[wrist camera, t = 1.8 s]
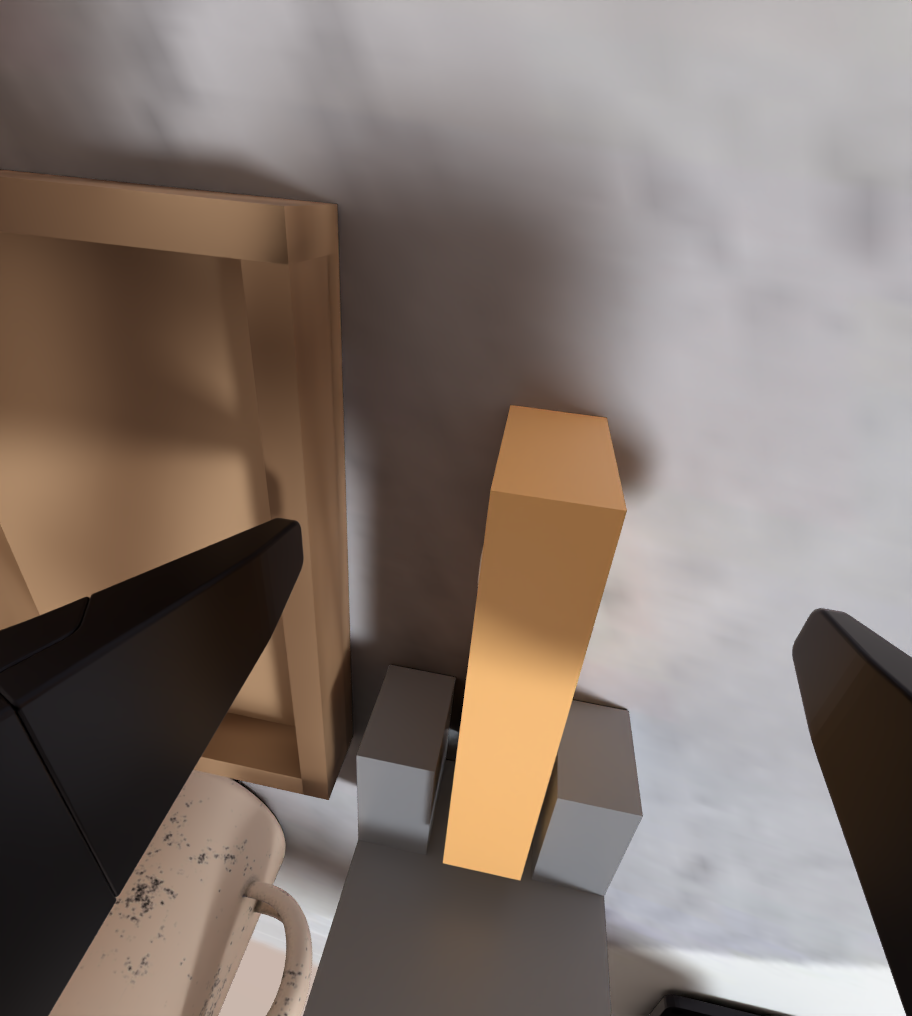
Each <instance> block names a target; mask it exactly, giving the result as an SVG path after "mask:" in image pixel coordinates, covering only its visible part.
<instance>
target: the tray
mask: <svg viewBox="0 0 912 1016" xmlns="http://www.w3.org/2000/svg"><path fill="white" fill-rule="evenodd" d="M275 518H285V519H290V520H296V521H298V522H299V523H300V526H301V531H302V542H303V554H304V561H303V566H302V569H301V572H300V574H299V576H298V579H297V581H296V583H295V585H294V588H293V590H292V592H291V594H290V597H289V599H288V601H287V603H286V606H285V608H284V610H283V613H282V615H281V617H280V619H279V622H278V624H277V626H276V628H275V630H274V632H273V634H272V637H271V638H270V640H269V642H268V644H267V646H266V647H265V649H264V651H263V653H262V654H261V656H260V658H259V659H258V661H257V663H256V664H255V666H254V668H253V670H252V671H251V673H250V675H249V676H248V678H247V680H246V681H245V683H244V685H243V686H242V688H241V690H240V692H239V693H238V695H237V697H236V698H235V700H234V702H233V703H232V705H231V707H230V709H229V710H228V712H227V714H226V715H225V717H224V719H223V720H222V722H221V724H220V725H219V727H218V729H217V731H216V732H215V734H214V736H213V737H212V739H211V741H210V742H209V744H208V746H207V747H206V749H205V751H204V753H203V754H202V756H201V758H200V759H199V761H198V763H197V764H196V766H195V768H194V770H196V771H201V772H205V773H210V774H214V775H219V776H223V777H228V778H232V779H237V780H241V781H246V782H250V783H255V784H259V785H264V786H268V787H273V788H277V789H282V790H286V791H291V792H295V793H299V794H304V795H308V796H313V797H317V798H322V799H326V800H329V798H330V795H331V793H332V790H333V787H334V785H335V782H336V780H337V777H338V774H339V772H340V769H341V767H342V764H343V761H344V759H345V756H346V754H347V751H348V748H349V746H350V743H351V741H352V738H353V719H352V685H351V651H350V617H349V583H348V549H347V515H346V481H345V447H344V413H343V379H342V345H341V311H340V277H339V243H338V209H337V204H331V203H321V202H311V201H301V200H292V199H282V198H272V197H263V196H253V195H243V194H233V193H224V192H214V191H204V190H195V189H185V188H175V187H165V186H156V185H146V184H136V183H127V182H117V181H107V180H97V179H88V178H78V177H68V176H59V175H49V174H39V173H30V172H20V171H10V170H0V630H2V629H5V628H8V627H10V626H13V625H16V624H19V623H21V622H24V621H27V620H29V619H32V618H34V617H37V616H39V615H42V614H44V613H47V612H49V611H52V610H54V609H57V608H59V607H62V606H64V605H67V604H69V603H72V602H74V601H76V600H79V599H81V598H83V597H89V598H90V596H91V595H92V594H93V593H96V592H98V591H101V590H103V589H106V588H108V587H110V586H113V585H115V584H118V583H120V582H122V581H125V580H127V579H130V578H132V577H134V576H137V575H139V574H142V573H144V572H147V571H149V570H151V569H154V568H156V567H159V566H161V565H163V564H166V563H168V562H171V561H173V560H176V559H178V558H180V557H183V556H185V555H188V554H190V553H192V552H195V551H197V550H200V549H202V548H205V547H207V546H209V545H212V544H214V543H217V542H219V541H221V540H224V539H226V538H229V537H231V536H234V535H236V534H238V533H241V532H243V531H246V530H248V529H250V528H253V527H255V526H258V525H260V524H262V523H265V522H267V521H270V520H272V519H275Z"/></svg>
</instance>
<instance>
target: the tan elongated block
mask: <svg viewBox="0 0 912 1016" xmlns="http://www.w3.org/2000/svg"><path fill="white" fill-rule="evenodd" d="M626 512H627V509H626V505H625V500H624V496H623V491H622V486H621V482H620V477H619V472H618V468H617V463H616V458H615V454H614V449H613V445H612V440H611V435H610V431H609V426H608V421H607V418H604V417H597V416H589V415H582V414H574V413H567V412H559V411H552V410H544V409H537V408H529V407H522V406H514V405H510V409H509V413H508V418H507V422H506V426H505V431H504V435H503V439H502V443H501V448H500V452H499V456H498V461H497V465H496V469H495V473H494V478H493V482H492V486H491V491H490V498H489V506H488V514H487V522H486V530H485V537H484V545H483V550H482V554H481V560H480V567H479V575H478V583H477V585H478V592H477V600H476V608H475V615H474V623H473V631H472V639H471V647H470V654H469V662H468V670H467V678H466V686H465V694H464V701H463V709H462V717H461V725H460V733H459V740H458V748H457V756H456V764H455V772H454V779H453V787H452V795H451V803H450V811H449V818H448V826H447V834H446V842H445V850H444V857H443V863H444V864H449V865H453V866H458V867H462V868H467V869H471V870H476V871H480V872H485V873H489V874H493V875H498V876H502V877H507V878H511V879H516V880H521V877H522V873H523V870H524V866H525V863H526V859H527V856H528V852H529V849H530V845H531V842H532V838H533V835H534V831H535V828H536V824H537V821H538V817H539V814H540V811H541V807H542V804H543V800H544V797H545V793H546V790H547V786H548V783H549V779H550V776H551V772H552V769H553V765H554V762H555V758H556V755H557V751H558V748H559V745H560V741H561V738H562V734H563V731H564V727H565V724H566V720H567V717H568V713H569V710H570V706H571V703H572V699H573V696H574V692H575V689H576V685H577V682H578V679H579V675H580V672H581V668H582V665H583V661H584V658H585V654H586V651H587V647H588V644H589V640H590V637H591V633H592V630H593V626H594V623H595V619H596V616H597V613H598V609H599V606H600V602H601V599H602V595H603V592H604V588H605V585H606V581H607V578H608V574H609V571H610V567H611V564H612V560H613V557H614V553H615V550H616V547H617V543H618V540H619V536H620V533H621V529H622V526H623V522H624V519H625V515H626Z"/></svg>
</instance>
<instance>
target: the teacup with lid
mask: <svg viewBox="0 0 912 1016" xmlns="http://www.w3.org/2000/svg"><path fill="white" fill-rule="evenodd" d="M285 846H286V844H285V838H284V834H283V831H282V829H281V826H280V824H279V823H278V821H277V819H276V818H275V816H274V815H273V814H272V812H271V811H270V810H269V809H268V808H267V806H266V805H265V804H264V803H263V802H262V801H261V800H260V799H258V798H257V797H256V796H255V795H254V794H252V793H251V792H250V791H249V790H247V789H246V788H244V787H243V786H242V785H240V784H239V783H237V782H235V781H234V780H232V779H230V778H228V777H223V776H219V775H214V774H210V773H205V772H201V771H196V770H193V771H192V773H191V775H190V776H189V778H188V780H187V781H186V783H185V785H184V786H183V788H182V790H181V792H180V793H179V795H178V797H177V798H176V800H175V802H174V803H173V805H172V807H171V808H170V810H169V812H168V814H167V815H166V817H165V819H164V820H163V822H162V824H161V825H160V827H159V829H158V831H157V832H156V834H155V836H154V837H153V839H152V841H151V842H150V844H149V846H148V847H147V849H146V851H145V853H144V854H143V856H142V858H141V859H140V861H139V863H138V864H137V866H136V868H135V869H134V871H133V873H132V875H131V876H130V878H129V880H128V881H127V883H126V885H125V886H124V888H123V890H122V891H121V893H120V895H119V896H118V897H116V902H115V904H114V906H113V907H112V909H111V911H110V913H109V914H108V916H107V918H106V919H105V921H104V923H103V924H102V926H101V928H100V929H99V931H98V933H97V935H96V936H95V938H94V940H93V941H92V943H91V945H90V946H89V948H88V950H87V952H86V953H85V955H84V957H83V958H82V960H81V962H80V963H79V965H78V967H77V968H76V970H75V972H74V974H73V975H72V977H71V979H70V980H69V982H68V984H67V985H66V987H65V989H64V990H63V992H62V994H61V996H60V997H59V999H58V1001H57V1002H56V1004H55V1006H54V1007H53V1009H52V1011H51V1013H50V1014H49V1016H218V1015H219V1012H220V1010H221V1007H222V1005H223V1003H224V1001H225V998H226V996H227V993H228V991H229V988H230V986H231V984H232V981H233V979H234V977H235V974H236V972H237V969H238V967H239V965H240V962H241V960H242V957H243V955H244V953H245V950H246V948H247V946H248V943H249V941H250V938H251V936H252V934H253V931H254V929H255V926H256V924H257V922H258V919H259V917H260V914H261V913H262V914H265V915H269V916H271V917H274V918H276V919H278V920H279V921H281V922H282V923H283V924H284V928H285V934H286V960H285V968H284V972H283V977H282V981H281V984H280V987H279V990H278V993H277V995H276V998H275V1000H274V1002H273V1004H272V1006H271V1008H270V1010H269V1012H268V1013H267V1015H266V1016H301V1013H302V1011H303V1008H304V1005H305V1002H306V998H307V994H308V990H309V985H310V978H311V970H312V942H311V935H310V930H309V926H308V923H307V920H306V917H305V915H304V913H303V911H302V909H301V908H300V906H299V905H298V903H297V902H296V900H295V899H294V898H293V897H292V896H291V895H290V894H288V893H287V892H286V891H284V890H282V889H281V888H278V887H276V886H273V883H274V881H275V879H276V876H277V874H278V871H279V869H280V867H281V864H282V862H283V859H284V855H285Z"/></svg>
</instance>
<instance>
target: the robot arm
mask: <svg viewBox="0 0 912 1016" xmlns="http://www.w3.org/2000/svg"><path fill="white" fill-rule="evenodd" d="M303 561H304V554H303V542H302V531H301V526H300V523H299V522H298V521H296V520H290V519H285V518H275V519H272V520H270V521H267V522H265V523H262V524H260V525H258V526H255V527H253V528H250V529H248V530H246V531H243V532H241V533H238V534H236V535H234V536H231V537H229V538H226V539H224V540H221V541H219V542H217V543H214V544H212V545H209V546H207V547H205V548H202V549H200V550H197V551H195V552H192V553H190V554H188V555H185V556H183V557H180V558H178V559H176V560H173V561H171V562H168V563H166V564H163V565H161V566H159V567H156V568H154V569H151V570H149V571H147V572H144V573H142V574H139V575H137V576H134V577H132V578H130V579H127V580H125V581H122V582H120V583H118V584H115V585H113V586H110V587H108V588H106V589H103V590H101V591H98V592H96V593H93V594H92V595H91V596H90V598H89V597H83V598H81V599H79V600H76V601H74V602H72V603H69V604H67V605H64V606H62V607H59V608H57V609H54V610H52V611H49V612H47V613H44V614H42V615H39V616H37V617H34V618H32V619H29V620H27V621H24V622H21V623H19V624H16V625H13V626H10V627H8V628H5V629H2V630H0V1016H49V1014H50V1013H51V1011H52V1009H53V1007H54V1006H55V1004H56V1002H57V1001H58V999H59V997H60V996H61V994H62V992H63V990H64V989H65V987H66V985H67V984H68V982H69V980H70V979H71V977H72V975H73V974H74V972H75V970H76V968H77V967H78V965H79V963H80V962H81V960H82V958H83V957H84V955H85V953H86V952H87V950H88V948H89V946H90V945H91V943H92V941H93V940H94V938H95V936H96V935H97V933H98V931H99V929H100V928H101V926H102V924H103V923H104V921H105V919H106V918H107V916H108V914H109V913H110V911H111V909H112V907H113V906H114V904H115V902H116V897H118V896H119V895H120V893H121V891H122V890H123V888H124V886H125V885H126V883H127V881H128V880H129V878H130V876H131V875H132V873H133V871H134V869H135V868H136V866H137V864H138V863H139V861H140V859H141V858H142V856H143V854H144V853H145V851H146V849H147V847H148V846H149V844H150V842H151V841H152V839H153V837H154V836H155V834H156V832H157V831H158V829H159V827H160V825H161V824H162V822H163V820H164V819H165V817H166V815H167V814H168V812H169V810H170V808H171V807H172V805H173V803H174V802H175V800H176V798H177V797H178V795H179V793H180V792H181V790H182V788H183V786H184V785H185V783H186V781H187V780H188V778H189V776H190V775H191V773H192V771H193V770H194V768H195V766H196V764H197V763H198V761H199V759H200V758H201V756H202V754H203V753H204V751H205V749H206V747H207V746H208V744H209V742H210V741H211V739H212V737H213V736H214V734H215V732H216V731H217V729H218V727H219V725H220V724H221V722H222V720H223V719H224V717H225V715H226V714H227V712H228V710H229V709H230V707H231V705H232V703H233V702H234V700H235V698H236V697H237V695H238V693H239V692H240V690H241V688H242V686H243V685H244V683H245V681H246V680H247V678H248V676H249V675H250V673H251V671H252V670H253V668H254V666H255V664H256V663H257V661H258V659H259V658H260V656H261V654H262V653H263V651H264V649H265V647H266V646H267V644H268V642H269V640H270V638H271V637H272V634H273V632H274V630H275V628H276V626H277V624H278V622H279V619H280V617H281V615H282V613H283V610H284V608H285V606H286V603H287V601H288V599H289V597H290V594H291V592H292V590H293V588H294V585H295V583H296V581H297V579H298V576H299V574H300V572H301V569H302V566H303ZM792 656H793V662H794V666H795V670H796V675H797V679H798V684H799V688H800V693H801V697H802V702H803V706H804V711H805V715H806V720H807V724H808V728H809V732H810V736H811V740H812V743H813V746H814V749H815V753H816V756H817V759H818V762H819V765H820V767H821V770H822V773H823V776H824V779H825V782H826V785H827V788H828V791H829V793H830V796H831V799H832V802H833V805H834V808H835V811H836V814H837V817H838V820H839V822H840V825H841V828H842V831H843V834H844V837H845V840H846V843H847V846H848V848H849V851H850V854H851V857H852V860H853V863H854V866H855V869H856V872H857V874H858V877H859V880H860V883H861V886H862V889H863V892H864V895H865V898H866V901H867V903H868V906H869V909H870V912H871V915H872V918H873V921H874V924H875V927H876V929H877V932H878V935H879V938H880V941H881V944H882V947H883V950H884V953H885V956H886V958H887V961H888V964H889V967H890V970H891V973H892V976H893V979H894V982H895V984H896V987H897V990H898V993H899V996H900V999H901V1002H902V1005H903V1008H904V1011H905V1013H906V1016H912V657H910V656H909V655H907V654H906V653H904V652H903V651H901V650H900V649H898V648H897V647H895V646H894V645H893V644H891V643H890V642H888V641H887V640H885V639H884V638H882V637H881V636H879V635H878V634H876V633H875V632H873V631H872V630H870V629H869V628H868V627H866V626H865V625H863V624H862V623H860V622H859V621H857V620H856V619H854V618H853V617H851V616H850V615H848V614H847V613H844V612H841V611H835V610H829V609H823V608H819V609H816V610H814V611H813V612H812V613H811V614H810V616H809V618H808V619H807V621H806V623H805V624H804V626H803V628H802V630H801V631H800V633H799V635H798V637H797V638H796V640H795V642H794V645H793V650H792ZM649 1016H759V1015H755V1014H751V1013H747V1012H743V1011H739V1010H735V1009H731V1008H726V1007H722V1006H718V1005H714V1004H710V1003H706V1002H702V1001H698V1000H694V999H690V998H686V997H682V996H677V995H666V996H664V997H663V998H662V1000H661V1001H660V1002H659V1003H658V1005H657V1006H656V1007H655V1009H654V1010H653V1011H652V1012H651V1014H650V1015H649Z"/></svg>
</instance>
